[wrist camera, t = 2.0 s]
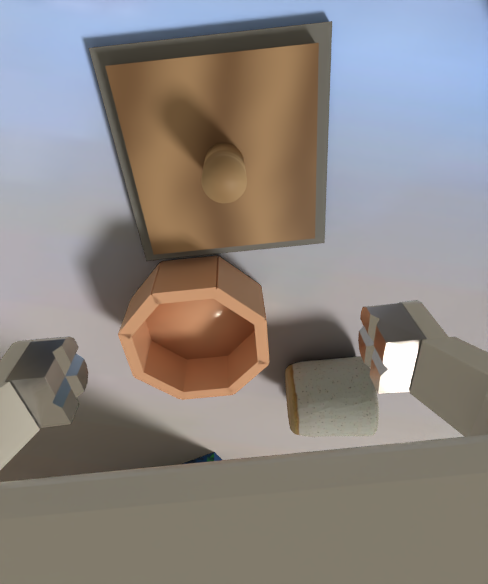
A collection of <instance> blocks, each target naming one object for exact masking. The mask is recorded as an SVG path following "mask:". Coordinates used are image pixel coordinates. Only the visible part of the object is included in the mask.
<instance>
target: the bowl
mask: <svg viewBox="0 0 488 584" xmlns="http://www.w3.org/2000/svg"><path fill="white" fill-rule="evenodd" d="M118 336H119V339H120V341H121V344H122V347H123V349H124V352H125V355H126V358H127V360H128V363H129V366H130V369H131V371H132V374H133V376H135V378H137V379H139V380H141V381H143V382H145V383H147V384H149V385H151V386H153V387H155V388H157V389H159V390H161V391H164V392H166V393H168V394H170V395H172V396H174V397H176V398H178V399H182V400H184V399H194V398H205V397H216V396H226V395H233V394H235V393H236V392H238V391H239V390H240V389H241V388H242V387H243V386H245V385H246V384H247V383H248V382H249V381H250V380H252V379H253V378H254V377H255V376H256V375H257V374H259V373H260V372H261V371H262V370H263V369H264V368H266V367H267V366H268V365H269V349H268V335H267V321H266V314H265V307H264V301H263V294H262V287H261V285H260V284H258V283H257V282H255V281H254V280H253V279H251V278H250V277H248V276H247V275H245V274H244V273H243V272H241V271H240V270H238V269H237V268H235V267H234V266H232V265H231V264H230V263H228V262H227V261H225V260H224V259H222V258H221V257H220V256H218V258H217V256H208V257H198V258H188V259H178V260H168V261H162V262H160V263H159V264H158V265H157V266H156V268H155V269H154V270H153V271H152V273H151V274H150V275H149V277H148V278H147V279H146V280H145V282H144V283H143V284H142V285H141V287H140V288H139V289H138V290H137V292H136V293H135V294H134V295H133V297H132V298H131V300H130V303H129V306H128V308H127V311H126V314H125V317H124V319H123V322H122V325H121V327H120V330H119V334H118Z"/></svg>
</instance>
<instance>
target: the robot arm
mask: <svg viewBox="0 0 488 584" xmlns="http://www.w3.org/2000/svg"><path fill="white" fill-rule="evenodd" d="M360 319H361V321H362V323H363V325H364V326H363V327H362V328H361V329H360V331H359V339H358V341H359V350H360V354H361V357H362V359H363V362H364V364H366V365H368V366H369V367H370V377H371V380H372V382H373V384H374V386H375V388H376V391H377V393H378V394H382V393H396V392H410V394H412V395H413V396H414V397H415V398H417V399H418V400H419V401H421V402H422V403H423V404H424V405H426V406H427V407H428V408H429V409H431V410H432V411H433V412H434V413H436V414H437V415H438V416H439V417H441V418H442V419H443V420H445V421H446V422H447V423H448V424H450V425H451V426H452V427H453V428H455V429H456V430H457V431H458V432H460V433H461V434H462V435H463V436H465V437H457V438H447V439H436V440H426V441H416V442H406V443H395V444H385V445H375V446H365V447H354V448H344V449H334V450H324V451H313V452H303V453H293V454H282V455H272V456H262V457H252V458H241V459H231V460H221V461H211V462H200V463H190V464H180V465H170V466H160V467H149V468H139V469H129V470H119V471H108V472H98V473H88V474H78V475H67V476H57V477H47V478H37V479H27V480H16V481H6V482H0V584H488V352H486V351H484V350H481V349H479V348H477V347H475V346H473V345H471V344H469V343H467V342H465V341H462V340H460V339H458V338H456V337H448V335H447V334H446V333H445V332H444V330H443V329H442V328H441V327H440V325H439V324H438V323H437V322H436V320H435V319H434V318H433V316H432V315H431V314H430V313H429V311H428V310H427V309H426V308H425V306H424V305H423V304H422V303H421V302H420V301H418V300H415V301H407V302H399V303H395V304H386V305H376V306H367V307H363V308H362V311H361V318H360ZM77 350H78V345H77V343H76V341H75V339H74V338H72V337H57V338H44V339H35V340H23V341H17V342H15V343H13V344H12V345H11V346H10V348H9V349H8V351H7V352H6V353H5V355H4V356H3V358H2V359H1V360H0V470H1V469H2V468H3V467H4V466H5V465H6V464H7V463H8V462H9V461H10V460H11V459H12V458H13V457H14V456H15V455H16V454H17V453H18V452H19V451H20V450H21V449H22V448H23V447H24V446H25V445H26V444H27V443H28V442H29V441H30V439H31V438H32V437H33V436H34V435H35V434H36V433H37V432H38V431H39V430H40V429H39V428H45V427H53V426H61V425H69V424H71V423H72V421H73V418H74V416H75V413H76V411H77V408H78V406H79V403H78V401H77V399H76V398H77V397H78V396H79V395H81V394H82V393H83V392H84V391H85V388H86V385H87V382H88V369H87V365H86V362H85V360H84V359H83V358H82V357H80V356H79V355H77V354H76V352H77Z"/></svg>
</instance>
